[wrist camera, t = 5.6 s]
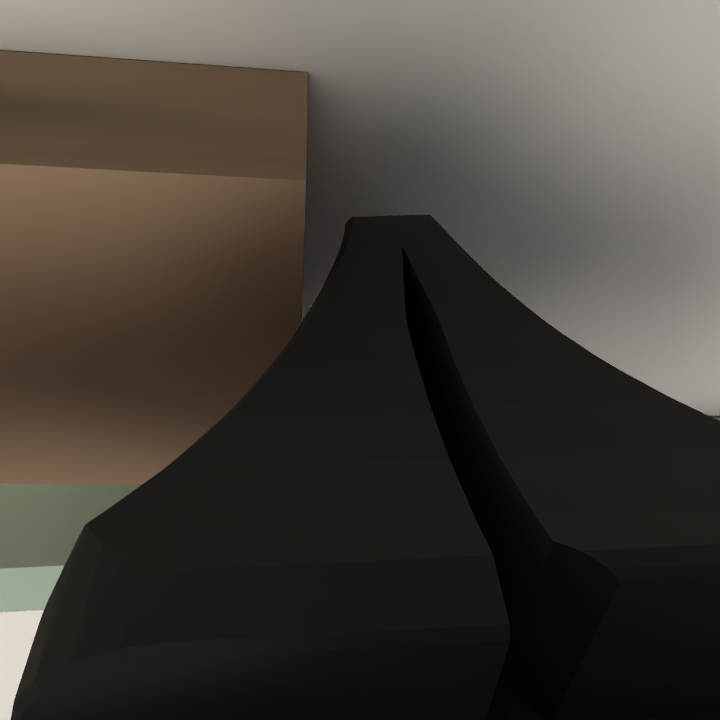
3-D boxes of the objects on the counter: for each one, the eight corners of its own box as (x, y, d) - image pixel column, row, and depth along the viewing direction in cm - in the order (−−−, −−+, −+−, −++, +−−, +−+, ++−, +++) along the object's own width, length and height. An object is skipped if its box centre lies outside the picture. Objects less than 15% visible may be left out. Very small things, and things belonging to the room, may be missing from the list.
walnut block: (299, 342, 13) (295, 486, 10) (28, 333, 12) (-51, 483, 10) (307, 72, 9) (305, 180, 7) (-60, 46, 9) (-216, 150, 6)
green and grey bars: (747, 458, 16) (821, 570, 13) (-19, 492, 15) (-78, 615, 13) (1197, -314, 7) (1597, -365, 5) (-509, -322, 7) (-943, -383, 4)
